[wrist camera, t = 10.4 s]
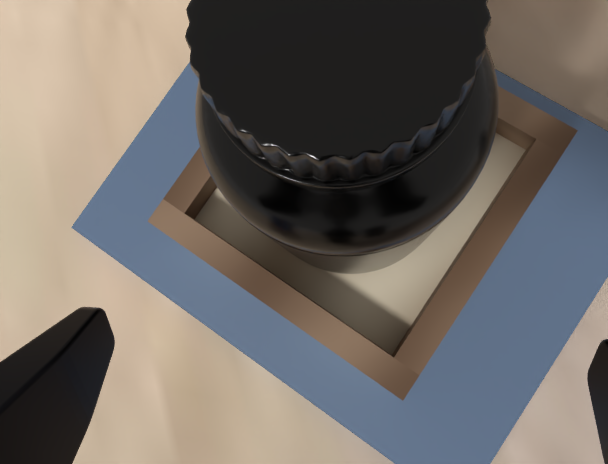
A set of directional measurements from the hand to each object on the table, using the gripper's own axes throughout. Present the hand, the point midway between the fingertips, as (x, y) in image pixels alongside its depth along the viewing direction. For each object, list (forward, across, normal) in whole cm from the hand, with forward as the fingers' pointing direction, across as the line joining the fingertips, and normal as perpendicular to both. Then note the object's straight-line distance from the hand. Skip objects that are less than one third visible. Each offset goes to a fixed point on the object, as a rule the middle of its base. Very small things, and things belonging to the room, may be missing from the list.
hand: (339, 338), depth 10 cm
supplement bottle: (+11, 0, +3) cm, 11 cm away
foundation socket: (+13, 0, +5) cm, 14 cm away
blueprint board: (+13, 0, +5) cm, 14 cm away
